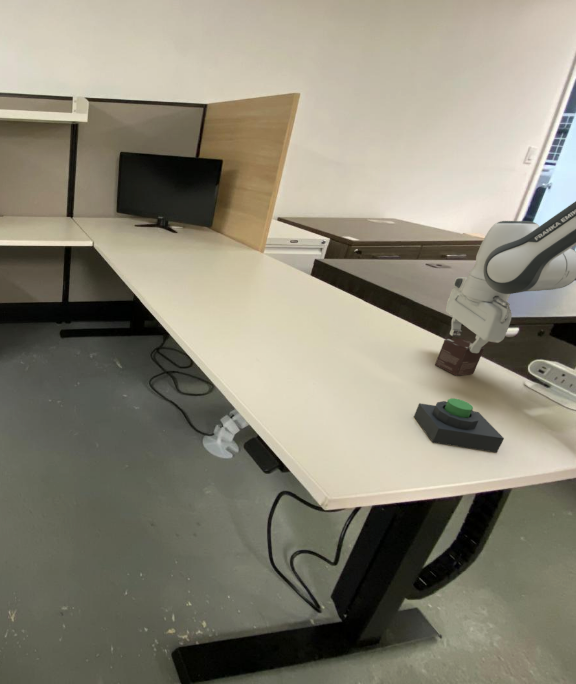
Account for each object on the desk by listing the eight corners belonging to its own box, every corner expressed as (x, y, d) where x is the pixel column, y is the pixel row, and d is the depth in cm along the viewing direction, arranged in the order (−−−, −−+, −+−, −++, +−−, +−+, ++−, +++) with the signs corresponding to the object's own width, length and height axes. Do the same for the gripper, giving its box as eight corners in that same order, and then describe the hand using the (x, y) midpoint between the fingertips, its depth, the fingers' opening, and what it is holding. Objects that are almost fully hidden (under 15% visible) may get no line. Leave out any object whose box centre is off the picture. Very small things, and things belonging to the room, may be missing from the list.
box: (473, 374, 115) (485, 348, 112) (455, 376, 114) (466, 349, 111) (451, 363, 121) (462, 337, 118) (433, 364, 119) (444, 338, 116)
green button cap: (462, 409, 90) (466, 400, 89) (473, 420, 87) (477, 411, 86) (440, 405, 91) (444, 396, 90) (449, 416, 87) (454, 407, 86)
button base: (472, 425, 94) (482, 404, 92) (497, 452, 86) (508, 430, 84) (413, 416, 95) (422, 395, 93) (432, 442, 87) (442, 420, 85)
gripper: (528, 307, 99) (500, 364, 105) (478, 279, 117) (457, 329, 123) (496, 303, 100) (470, 360, 106) (451, 276, 118) (431, 326, 124)
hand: (463, 343), depth 114 cm, fingers open, 8 cm apart
